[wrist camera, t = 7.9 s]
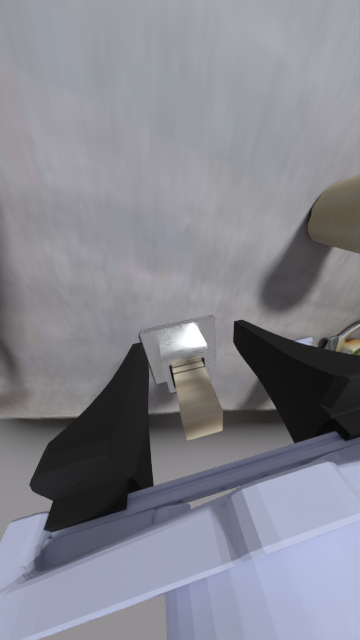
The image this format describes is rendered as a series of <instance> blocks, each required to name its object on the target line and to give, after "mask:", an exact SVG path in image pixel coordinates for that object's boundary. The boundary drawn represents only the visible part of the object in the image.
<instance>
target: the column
mask: <svg viewBox="0 0 360 640" xmlns="http://www.w3.org/2000/svg"><path fill="white" fill-rule="evenodd" d="M172 369H173V375H174V380H175V385H176V390H177V396H178V401H179V407H180V412H181V417H182V423H183V427H184V430H185V434H186V438H187V440H191V439H194V438H198V437H201V436H205V435H208V434H212V433H215V432H219V431H222V430H223V410H222V408H221V405H220V403H219V401H218V398H217V396H216V393H215V391H214V389H213V386H212V384H211V381H210V379H209V377H208V374H207V372H206V369H205V367H204V365H203V362H202V360H201V358H199V359H195V360H190V361H186V362H182V363H178V364H174V365H172Z"/></svg>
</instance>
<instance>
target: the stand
mask: <svg viewBox="0 0 360 640" xmlns="http://www.w3.org/2000/svg"><path fill="white" fill-rule="evenodd" d="M140 337H141V340H142V343H143V346H144V349H145V352H146V354H147V357H148V360H149V363H150V366H151V369H152V372H153V375H154V378H155V381H156V384H159V383H163V382H167V384H168V388H169V391H170V393H173V392H177V390H176V385H175V380H174V375H173V369H172V365H174V364H178V363H182V362H186V361H190V360H195V359H199V358H201V360H202V362H203V365H204V367H205V369H206V372H207V374H208V377H209V379H210V381H211V370H215V369H216V337H215V317H214V316H213V314H212V315H208V316H203V317H199V318H194V319H189V320H185V321H180V322H176V323H171V324H167V325H162V326H157V327H153V328H148V329H144V330H140ZM211 383H212V382H211Z"/></svg>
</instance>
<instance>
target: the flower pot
mask: <svg viewBox="0 0 360 640" xmlns="http://www.w3.org/2000/svg"><path fill="white" fill-rule="evenodd" d="M307 228H308V234H309V236H310V238H311V239H312V240H313V241H315V242H317V243H322V244H326V245H330V246H333V247H337V248H341V249H344V250H348V251H352V252H356V253H359V254H360V175H357V176H354V177H352V178H349V179H346V180H343V181H340V182H338V183H336V184H334V185H332V186H331V187H329V188H328V189H327V190H326V191H325V192H324V193H323V194H322V195H321V196H320V197H319V198H318V200H317V201H316V203H315V204H314V206H313V208H312V213H311V217H310V220H309V222H308V225H307Z"/></svg>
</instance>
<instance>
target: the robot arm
mask: <svg viewBox="0 0 360 640" xmlns="http://www.w3.org/2000/svg"><path fill="white" fill-rule="evenodd" d="M312 341H313V338H311V337H309V338H305V339H300V340H296V341H293V340H290V339H287V338H284V337H281V336H279V335H276V334H274V333H271V332H269V331H266V330H264V329H262V328H260V327H257V326H255V325H253V324H251V323H249V322H246V321H244V320H238V321H234V337H233V342H234V344H235V346H236V348H237V350H238V351H239V353H240V354H241V356H242V357H243V359H244V360H245V361H246V363H247V364H248V365H249V366H250V368H251V369H252V370H253V372H254V373H255V374H256V376H257V377H258V379H259V380H260V381H261V383H262V385H263V386H264V388H265V390H266V391H267V393H268V395H269V396H270V398H271V400H272V401H273V403H274V405H275V407H276V409H277V410H278V412H279V414H280V416H281V418H282V420H283V421H284V423H285V425H286V427H287V429H288V431H289V433H290V435H291V437H292V439H293V441H294V444H291V445H288V446H285V447H281V448H278V449H275V450H271V451H268V452H265V453H261V454H258V455H255V456H252V457H248V458H245V459H242V460H239V461H235V462H232V463H229V464H225V465H222V466H219V467H215V468H212V469H209V470H206V471H202V472H199V473H195V474H192V475H189V476H186V477H183V478H179V479H176V480H173V481H169V482H166V483H162V484H159V485H156V486H154V485H153V474H152V464H151V451H150V439H149V422H148V391H149V366H148V360H147V357H146V354H145V352H144V349H143V346H142V343H141V342H140V343H136V344H133V345H132V347H131V348H130V350H129V352H128V354H127V356H126V357H125V359H124V361H123V363H122V364H121V366H120V368H119V369H118V371H117V372H116V374H115V375H114V377H113V378H112V379H111V381H110V382H109V383H108V385H107V386H106V387H105V389H104V390H103V391H102V392H101V393H100V395H99V396H98V397H97V398H96V399H95V400H94V401H93V402H92V403H91V405H90V406H89V407H88V408H87V409H86V410H85V411H84V412H83V413H82V414H81V415H80V416H79V417H78V418H77V419H75V420H74V421H73V423H71V424H70V425H69V426H68V427H67V428H66V429H65V430H63V431H62V432H61V433H60V434H59V435H58V436H57V437H55V438H54V439H53V440H52V441H51V442H49V443H48V445H47V447H46V449H45V451H44V453H43V455H42V457H41V459H40V462H39V464H38V466H37V468H36V471H35V473H34V475H33V477H32V479H31V482H30V487H31V489H32V491H33V492H35V493H37V494H39V495H41V496H44V497H46V498H48V499H50V500H53V503H52V507H51V509H50V512H40V513H36V514H32V515H29V516H26V517H22V518H19V519H16V520H13V521H11V522H10V523H9V525H8V527H7V529H6V531H5V533H4V536H3V538H2V540H1V542H0V640H37V639H40V638H43V637H45V636H48V635H51V634H54V633H56V632H59V631H62V630H65V629H68V628H70V627H73V626H76V625H79V624H81V623H84V622H87V621H90V620H92V619H95V618H98V617H101V616H104V615H106V614H109V613H112V612H115V611H117V610H120V609H123V608H126V607H128V606H131V605H134V604H137V603H139V602H142V601H145V600H148V599H151V598H154V597H156V596H159V595H162V594H165V604H166V623H167V640H360V355H354V354H348V353H342V352H337V351H331V350H327V349H322V348H318V347H314V346H311V343H312ZM241 485H242V486H241ZM238 486H240V487H239V488H237V489H236V490H234V491H232V492H231V493H229V494H226V495H224V496H222V497H219V498H217V499H214V500H212V501H210V502H207V503H205V504H202V505H200V506H198V507H195V508H193V509H191V508H190V505H189V504H188V503H187V502H191V501H194V500H197V499H200V498H203V497H206V496H210V495H213V494H216V493H219V492H222V491H226V490H229V489H232V488H235V487H238ZM185 503H187V504H185Z"/></svg>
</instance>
